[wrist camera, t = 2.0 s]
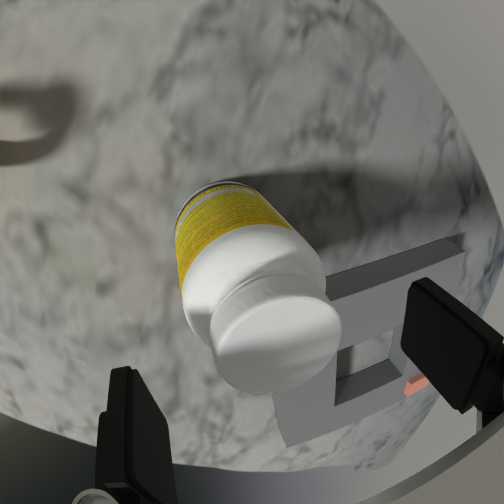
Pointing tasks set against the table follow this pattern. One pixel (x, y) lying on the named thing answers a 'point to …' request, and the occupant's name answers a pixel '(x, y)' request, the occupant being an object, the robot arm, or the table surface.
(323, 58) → the table surface
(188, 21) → the table surface
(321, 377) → the block with square hole
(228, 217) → the supplement bottle
